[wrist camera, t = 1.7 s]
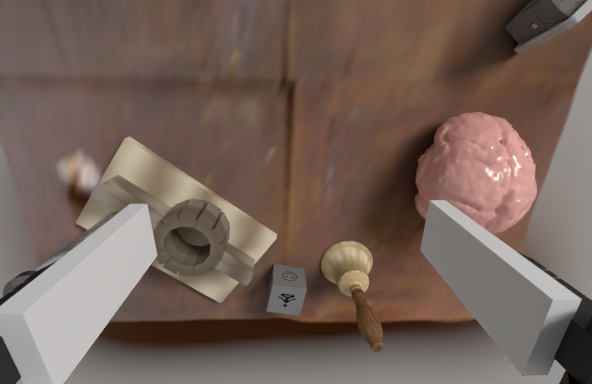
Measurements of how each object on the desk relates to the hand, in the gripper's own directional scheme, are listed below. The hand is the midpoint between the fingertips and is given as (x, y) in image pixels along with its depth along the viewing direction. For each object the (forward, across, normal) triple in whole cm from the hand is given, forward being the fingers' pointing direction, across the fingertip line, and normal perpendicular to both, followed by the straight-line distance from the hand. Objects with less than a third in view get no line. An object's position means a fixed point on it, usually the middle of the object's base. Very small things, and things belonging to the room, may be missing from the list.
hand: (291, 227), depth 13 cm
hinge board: (+26, -16, -14) cm, 33 cm away
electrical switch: (+26, +29, +15) cm, 42 cm away
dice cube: (+26, 0, -23) cm, 35 cm away
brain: (+26, +23, -4) cm, 35 cm away
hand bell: (+26, +10, -20) cm, 35 cm away
